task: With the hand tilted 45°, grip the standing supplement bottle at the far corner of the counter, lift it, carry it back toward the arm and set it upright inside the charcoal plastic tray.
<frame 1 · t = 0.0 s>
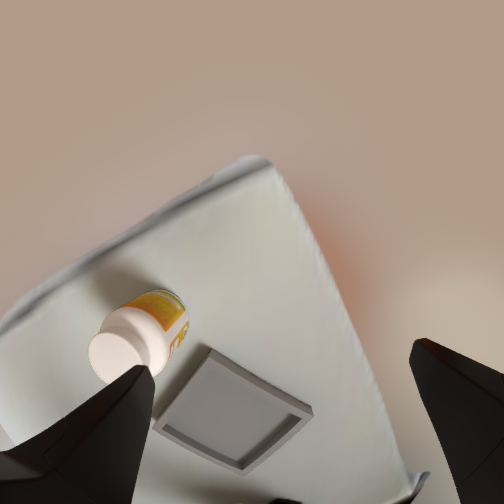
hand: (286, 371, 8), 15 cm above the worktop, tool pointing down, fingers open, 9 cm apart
charcoal tray: (230, 417, 25), on the worktop
supplement bottle: (162, 316, 24), on the worktop
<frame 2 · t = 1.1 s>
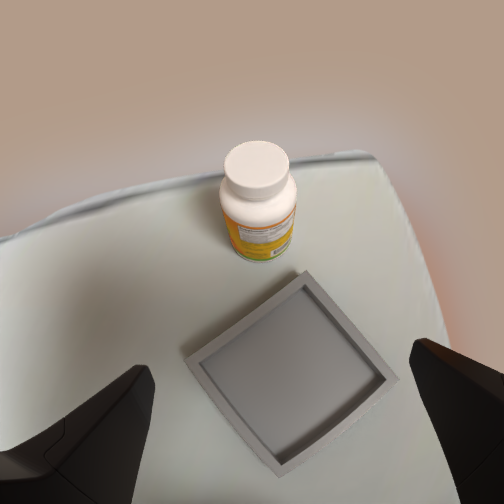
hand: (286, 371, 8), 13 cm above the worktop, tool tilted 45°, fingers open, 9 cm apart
charcoal tray: (293, 376, 20), on the worktop
supplement bottle: (261, 237, 25), on the worktop
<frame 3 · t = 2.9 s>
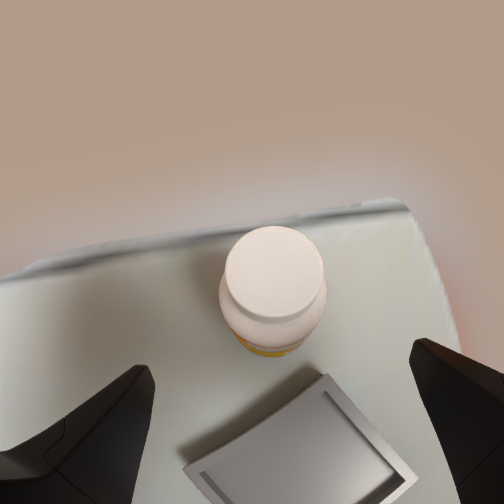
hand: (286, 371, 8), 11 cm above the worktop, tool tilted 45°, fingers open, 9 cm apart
charcoal tray: (305, 479, 14), on the worktop
supplement bottle: (272, 322, 20), on the worktop
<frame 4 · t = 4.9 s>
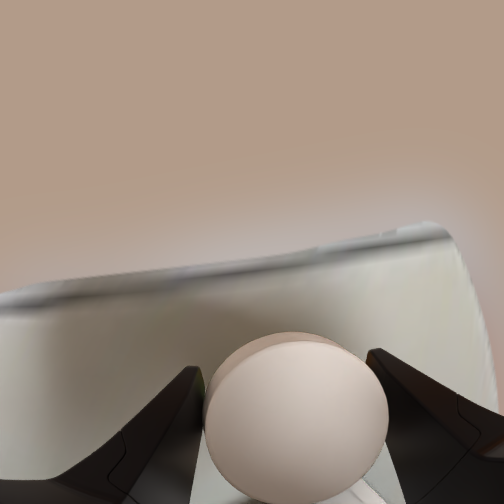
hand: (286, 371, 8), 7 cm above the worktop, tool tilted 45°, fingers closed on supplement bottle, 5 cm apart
supplement bottle: (280, 399, 14), on the worktop, touching gripper
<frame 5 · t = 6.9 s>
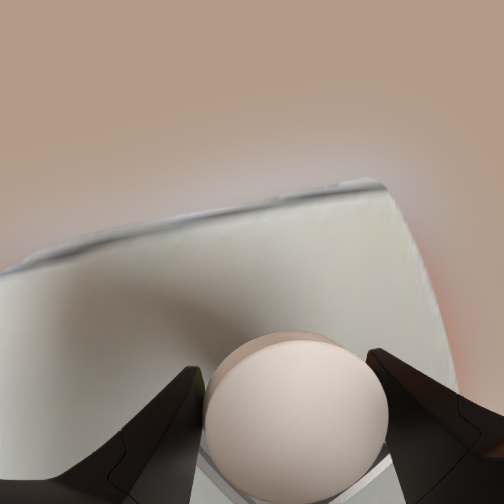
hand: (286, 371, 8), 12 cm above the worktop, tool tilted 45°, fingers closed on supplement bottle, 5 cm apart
charcoal tray: (293, 449, 16), on the worktop
supplement bottle: (280, 398, 14), point 5 cm above the worktop, touching gripper
when the fingers open (8 cm above the worktop, at t = 9.1 s): supplement bottle drops 1 cm, resting on charcoal tray.
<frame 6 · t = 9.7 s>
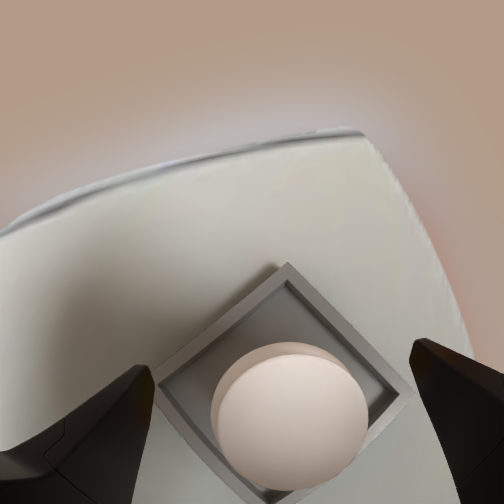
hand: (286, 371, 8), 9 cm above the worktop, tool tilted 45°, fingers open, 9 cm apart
charcoal tray: (279, 397, 15), on the worktop
supplement bottle: (280, 399, 15), resting on charcoal tray
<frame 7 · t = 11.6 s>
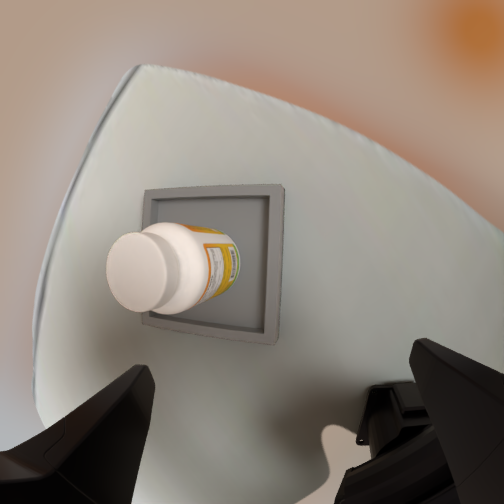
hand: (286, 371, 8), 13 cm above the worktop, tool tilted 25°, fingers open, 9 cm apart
charcoal tray: (211, 260, 23), on the worktop
supplement bottle: (210, 262, 22), resting on charcoal tray
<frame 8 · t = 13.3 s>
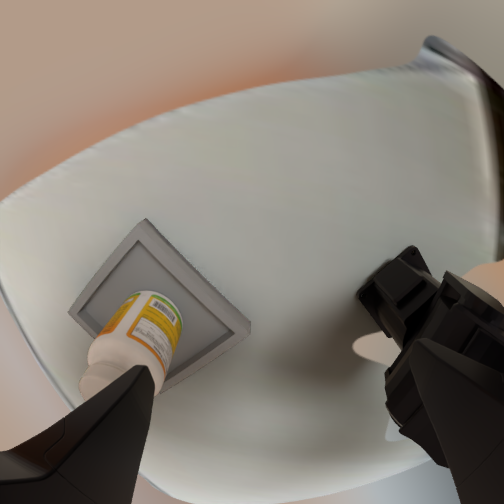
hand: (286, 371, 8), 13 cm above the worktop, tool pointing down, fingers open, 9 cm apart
charcoal tray: (153, 314, 22), on the worktop
supplement bottle: (153, 316, 22), resting on charcoal tray
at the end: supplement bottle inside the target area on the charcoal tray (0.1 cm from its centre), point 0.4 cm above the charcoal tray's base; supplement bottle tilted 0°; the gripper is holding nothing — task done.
